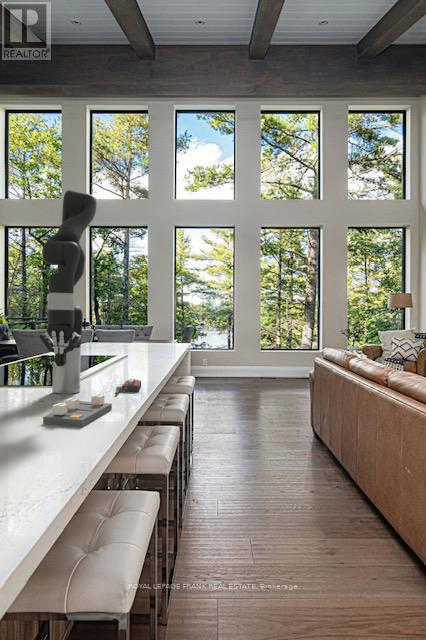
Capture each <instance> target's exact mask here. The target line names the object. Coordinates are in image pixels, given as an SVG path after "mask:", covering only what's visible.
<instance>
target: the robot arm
mask: <svg viewBox="0 0 426 640" xmlns="http://www.w3.org/2000/svg"><path fill="white" fill-rule="evenodd" d="M96 212H97V198H96V197H95V195H93V194H89V193H87V192H82V191H76V190H70V189H69V190H66V191H65V193H64V196H63V200H62V217H61V221H62V222H61V224H60V226H59V228H58V230H57V233H55V234H53V235H52V236H51V237H50V238H49V239H47V240H46V242H45V243H44V244H43V247H42V250H41V256H42V258H43V260H44V262H45V263H47V264H48V265H51V266H57V269H56V271H57V272H54V273H52V274H50V275H49V277H48V298H47V328H46V332H44V333H43V334H40V335H39V338H40V340H41V342H43V344H44V346H45V347H46V349H47V350H48V352H51V353H53V354H54V366H53V367H52V388H51V389H52V393H54V394H55V393H56V394H59V395H60V394H61V395H68V394H69V395H70V394H76V393H77V394H78V393H80V392H81V359H82V358H81V355H82V354H81V349H82V348H81V346H82V345H81V343H82V339H83V335H82V333H83V331H82V330H83V318H84V317H83V310H82V308H81V307H80V306H79V305H75V296H74V293H75V291H74V287H75V286H76V285H77V284H78V282H79V281H80V280H81V279H82V277H83V274H84V271H85V264H86V263H85V261H86V254H85V251H84V249H83V246H82V245H81V243H80V241H81V238H82V235H83V234H84V232H85V230H86V229H87V227H88V226H89V225H90V224H91V223H92V221H93V220H94V218H95V215H96Z"/></svg>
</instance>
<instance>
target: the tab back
mask: <svg viewBox="0 0 426 640" xmlns="http://www.w3.org/2000/svg"><path fill="white" fill-rule="evenodd" d="M90 398H91V399H90V400H91V401H90V402H91V404H95V405H101V404H103V403H105V394H101V393H98V394H94V395H92V396H91V397H90Z"/></svg>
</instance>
